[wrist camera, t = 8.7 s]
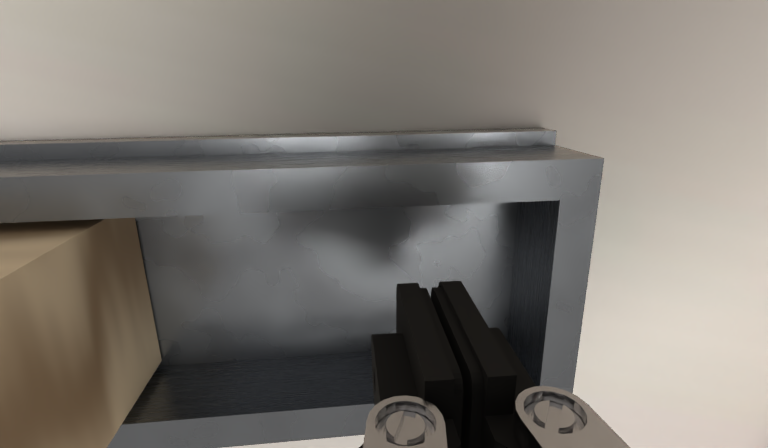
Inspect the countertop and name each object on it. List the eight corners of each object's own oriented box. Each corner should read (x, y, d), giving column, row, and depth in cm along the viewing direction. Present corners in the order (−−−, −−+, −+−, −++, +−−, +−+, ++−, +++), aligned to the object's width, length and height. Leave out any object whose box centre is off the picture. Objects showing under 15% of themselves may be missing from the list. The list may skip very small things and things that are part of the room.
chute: (-252, 147, 14) (-472, 170, 10) (543, 128, 16) (606, 140, 13) (-136, 411, 17) (-273, 505, 13) (522, 360, 19) (567, 427, 16)
